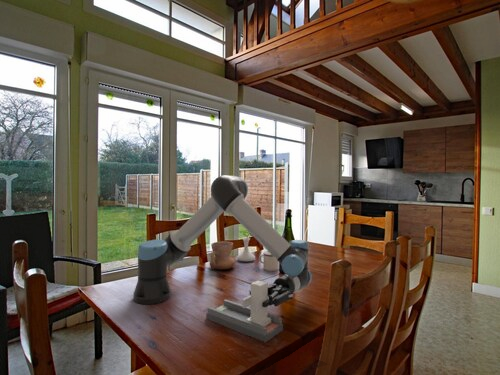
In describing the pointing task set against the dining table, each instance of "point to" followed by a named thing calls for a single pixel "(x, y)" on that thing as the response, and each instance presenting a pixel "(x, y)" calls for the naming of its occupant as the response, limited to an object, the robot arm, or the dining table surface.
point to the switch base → (243, 321)
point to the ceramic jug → (222, 255)
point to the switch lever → (258, 293)
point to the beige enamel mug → (269, 261)
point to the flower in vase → (246, 251)
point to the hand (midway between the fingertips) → (249, 305)
